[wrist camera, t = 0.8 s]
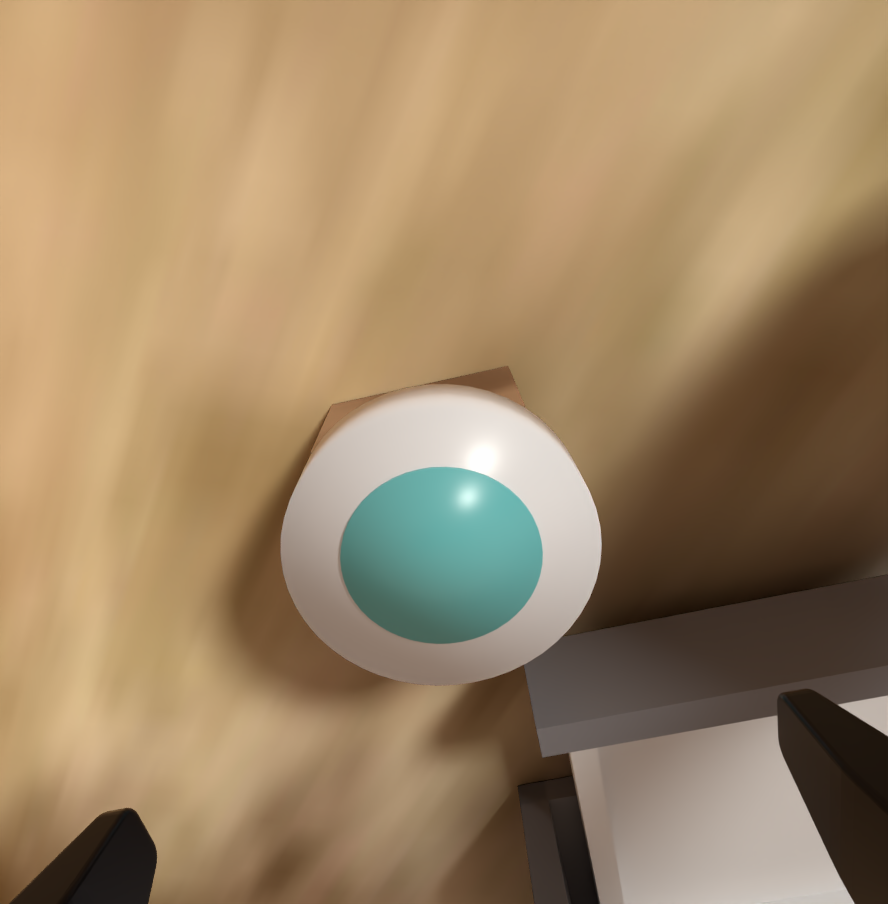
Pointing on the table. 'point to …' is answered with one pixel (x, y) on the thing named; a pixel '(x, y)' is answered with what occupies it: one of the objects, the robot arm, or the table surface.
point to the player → (556, 843)
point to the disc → (440, 536)
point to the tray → (708, 742)
